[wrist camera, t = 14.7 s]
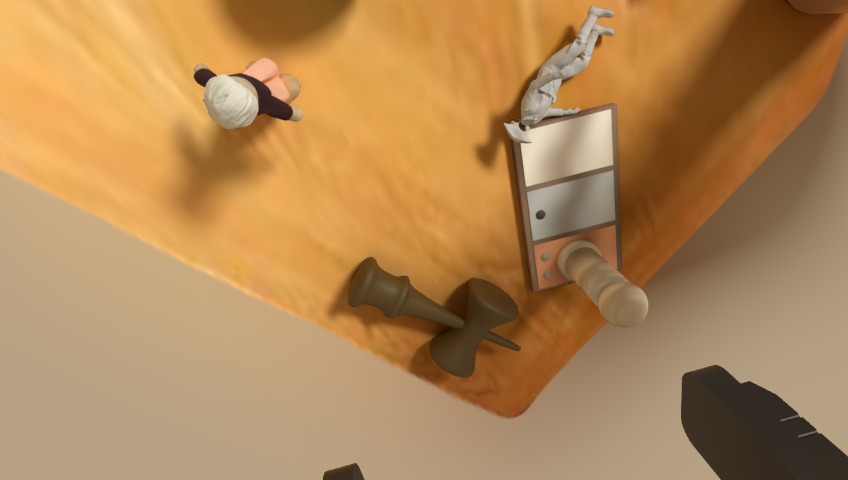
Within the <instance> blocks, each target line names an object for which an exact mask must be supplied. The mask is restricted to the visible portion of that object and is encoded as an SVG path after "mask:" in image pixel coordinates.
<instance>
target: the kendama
mask: <svg viewBox="0 0 848 480" xmlns="http://www.w3.org/2000/svg"><path fill="white" fill-rule="evenodd" d="M348 304H349V305H350V306H352V307H356V306H359V305H361V304H369V305H373V306H375V307H378V308H379V309H381V310H382V311H383V312H384V314H385V316H386V317H387V318H390V319H391V318H393V317H395V316H398V315H406V316H412V317H416V318H421V319H425V320H429V321H432V322H436V323H439V324H443V325H446V326H449V327H452V328H453V329H452V330H450V331H448V332H446V333H443V334H441V335H439V336H437V337H436V338H434V339H433V340H432V341H431V343H430V349H429V350H430V353H431V356H432V358H433V359H434V361H435V362H436V363H437V365H439V366H440V367H441V368H442V369H443V370H445V371H446V372H448V373H450V374H452V375H454V376H458V377H462V378H464V377H470V376H471V375H472V373H473V372H474V369H475V356H476V349H477V346H478V344H479V343H480V341H481V340H482V338H483V339H486V340H488V341H491V342H493V343H496V344H499V345H501V346H504V347H507V348H509V349H512V350H516V351H520V350H521V348H520V347H519V346H518V345H516V344H515V343H513V342H511V341H509V340H507V339H505V338H503V337H500V336H498V335H496V334H494V333H492V332H490V331H489V330H490V329H492V328H493V327H496V326H498V325H501V324H504V323H507V322H510V321H513V320H515V319H516V318H517V316H518V314H519V311H518V307H517V305H516V304H515V302H514V301H513V299H512V298H511V297H510V296H509V295H508V294H507V293H506V292H504V291H503V290H502V289H500V288H499V287H497V286H495V285H494V284H492V283H490V282H488V281H485V280H482V279H475V278H472V279H471V280H470V281H469V282H468V307H467V311H466V313H465V315H464V317H463V318H462V317H460V316H458V315H456V314H454V313H452V312H451V311H449V310H447V309H445V308H444V307H442V306H440V305H439V304H437V303H435V302H434V301H432V300H430V299H429V298H427V297H426V296H424V295H423V294H421V293H420V292H419V291H417V290H416V289H415V288H414V287H413V286H412V285H411V284H410V280H409V278H408V276H400V277H396V276H393V275H391V274H389V273H387V272H385V271H384V270H382V269H381V268H380V267H379V266H378V264H377V262H376V260H375V259H374V258H373V257H369V258H366V260H365V261H364V262H363V263H362V264H361V265H360V267H359V268H358V270H357V271H356V273H355V276H354V278H353V280H352V282H351V285H350V288H349V292H348Z"/></svg>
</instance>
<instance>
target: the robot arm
mask: <svg viewBox="0 0 848 480" xmlns="http://www.w3.org/2000/svg"><path fill="white" fill-rule="evenodd" d="M787 1H788V2H789V3H790V4H791V6H792V7H793V8H795V9H797V10H798V11H800V12H803V13H807V14H832V13H848V0H787ZM681 405H682V406H681V420H682V425H683V428H684V430H685V433H686V435H687V437H688V438H689V440H690V442H691V443H692V445H693V446H694V447H695V448H696V450H697V451H698V452H699V453H700V455H701V456H702V457H703V458H704V459H705V461H706V462H707V463H708V464H709V466H710V467H711V468H712V469H713V471H714V472H715V473H716V474H717V475H718V477H719V478H720V479H721V480H848V456H847V455H845V454H844V453H843V452H842V451H841V450H840V449H838V448H837V447H836V446H835V445H834V444H833V443H832V442H830V441H829V440H828V439H827V438H826V437H824V435H822V434H819V433H818V432H817V430H816V429H815V428H814V427H813V426H812V425H811V424H810V423H809V422H807V421H806V420H805V419H804V418H803V417H802V418H800V417H799V415H798V413H797V412H796V411H795V410H793V409H792V408H791V407H790V406H789V405H788V404H787V403H785V402H784V401H783V400H782V399H781V398H780V397H778V396H777V395H776V394H774V393H772V392H770V391H768V390H766V389H764V388H762V387H760V386H758V385H756V384H754V383H752V382H750V381H748V382H745V383H741V384H740V383H739V382H738V381H737V380H736V379H735V378H734V377H733V376H732V375H730V374H729V373H728V372H727V371H726V370H725V369H724V368H722V367H720V366H718V365H713V366H710V367H706V368H702V369H699V370H695V371H691V372H688V373H685V374H684V375H683V377H682V402H681ZM323 480H364V478H363V475H362V473H361V471H360V468H359V466H358V465H357V464H356V463H354V464H351V465H347V466H343V467H340V468H336V469H333V470H329V471H326V472H325V473H324V476H323Z"/></svg>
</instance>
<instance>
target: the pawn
mask: <svg viewBox="0 0 848 480" xmlns="http://www.w3.org/2000/svg"><path fill="white" fill-rule="evenodd" d="M557 266H558V268H559V270H560V271H561V272H562V274H563V275H564V276H565V277H566V278H567V279H569V280H571V281H575V282H576V284H577V285H578V286H579V287H580V288H581V289H582V290H583V291H584V293H585V294H586V295H587V296H588V297H589V298H590V299H591V300H592V302H593V303H594V304H595V305H596V306H597V307H598V308H599V310H600V312H601V314H602V316H603V317H604V318H605V320H607V321H608V322H609V323H611V324H612V325H614V326H617V327H623V328H627V327H632V326H635V325H637V324H639V323H640V322H641V321H642V320H643V319H644V318H645V316H646V314H647V311H648V301H647V297H646V295H645V294H644V292H643V291H642V290H641V289H640V288H639V287H638V286H636V285H634V284H632V283H630V282H629V281H628V280H627V279H626V278H625V277H623V276H622V275H621V274H620V273H619V272H618V271H617V270H616V269H615V268H614V267H612V266H611V265H610V264H609V263H608V262H607V261H606V260H605V259H604V258H602V254H601V252H600V250H599V249H598V248H597V247H596V246H595V245H594V244H593V243H592V242H590V241H589V240H586V239H575V240H572V241H570V242H568V243H567V244H566V245H564V246H563V247H562V249H561V250H560V252H559V254H558V256H557Z"/></svg>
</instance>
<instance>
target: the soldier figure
mask: <svg viewBox="0 0 848 480" xmlns="http://www.w3.org/2000/svg"><path fill="white" fill-rule="evenodd" d="M587 15H588V16H587V18H586V20H585V21H584V23H583V24H582V26H581V28H580V30H579V32H578V34H577V35H576V37H577V38H576V39H575V40H574V43H571V44H569V45H567V46H565V47H564V48H563V49H561V50H560V51H558V52H557V53H555V54H554V55H552V57H550V58H549V59H548V60H547V61H546V62H545V63H544V64H543V65H542V66H541V68H540V70H539V72H538V75H537V78H536V80H534V81H532V83H531V84H530V85H529V88H528V90H527V92H526V93H525V95H524V97H523V100H522V102H521V115H522V118H521V123H522V124H523V125H525V126H526V129H525V130H527V131H528V132H529V130H530V127H529V125H533V124H537V123H538V122H539V121H540V120H541V119H542V118H544V117H550V116H563V115H573V114H576V113H577V112H578V111H580V108H579V109H578V107H577V108H576V109H575V110H571V109H572V108H570V109H569V110H566V111H563V109H559V108H551V107H549V106H550V105H551V104H554V102H555V100H556V98H557V96H556V94H557V91H558V89H559V87H560V85H561V81H562V80H564V79H567V78H570V77H572V76H574V75H576V74H578V73H580V72H582V71H583V70H584V69H585V68H586V67H587V66H588V63H589V61H590V60H591V58H590V57H591V55H592V52H593V48H594V45H595V43H596V40H597V38H598V36H600V35H607V36H613V35H614V34H615V32H614V30H613V29H612V28H610V27H601V26H599V24H597V23H595V21H596V20H597V19H599V18H601V17H605V18H612V17H613V16H614V15H615V14H614V12H613V11H612V10H611V9H609V8H604V9H598V8H597V7H596V6H590V9H589V11H588V14H587ZM578 55H580V57H577V56H578ZM576 57H577V58H576ZM577 109H578V110H577ZM513 120H514V119H513ZM513 120H512V121H511V123H510V124H506V123H504V126H505V129H506V132H507V133H508V135H509V136H510V138H511V139H512V140H514V141H516V142H519V143H532V142H531V140H530V139H529V137H528V136H526V135H527V134H526V133H524V132H523V131H522V130H521V129H520V128H519V126H518V125H519V122H520V121H519V122H518V123H516V122H514V121H513Z"/></svg>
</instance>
